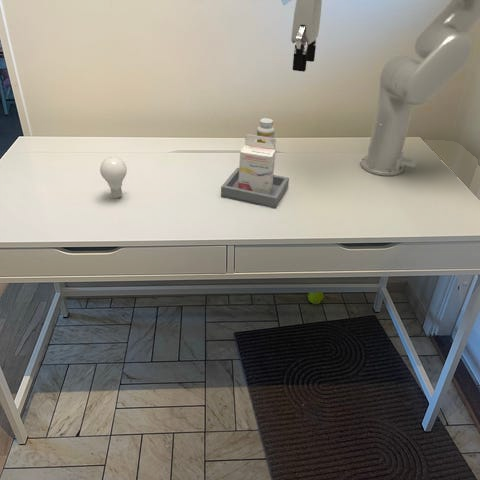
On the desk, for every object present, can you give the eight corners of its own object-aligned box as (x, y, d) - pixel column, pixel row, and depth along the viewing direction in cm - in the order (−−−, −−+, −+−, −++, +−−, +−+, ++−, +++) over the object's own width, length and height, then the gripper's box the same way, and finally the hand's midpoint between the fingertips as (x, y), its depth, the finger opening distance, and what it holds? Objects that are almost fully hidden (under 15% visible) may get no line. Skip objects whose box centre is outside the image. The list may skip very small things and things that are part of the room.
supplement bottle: (276, 150, 149) (279, 120, 144) (265, 154, 146) (267, 125, 141) (263, 144, 152) (265, 115, 147) (252, 149, 149) (254, 120, 144)
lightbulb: (134, 194, 124) (130, 155, 117) (121, 205, 119) (116, 165, 113) (112, 189, 125) (107, 151, 119) (99, 200, 120) (93, 161, 114)
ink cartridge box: (237, 192, 125) (239, 140, 117) (242, 184, 129) (244, 133, 121) (269, 197, 123) (273, 145, 115) (272, 188, 127) (277, 137, 119)
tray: (288, 187, 130) (289, 177, 128) (275, 208, 120) (276, 198, 118) (236, 177, 133) (237, 167, 132) (220, 196, 124) (221, 186, 122)
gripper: (303, -16, 118) (297, 56, 128) (285, -6, 105) (280, 72, 114) (333, -14, 116) (324, 59, 126) (319, -4, 103) (310, 76, 112)
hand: (303, 65), depth 120 cm, fingers open, 9 cm apart
